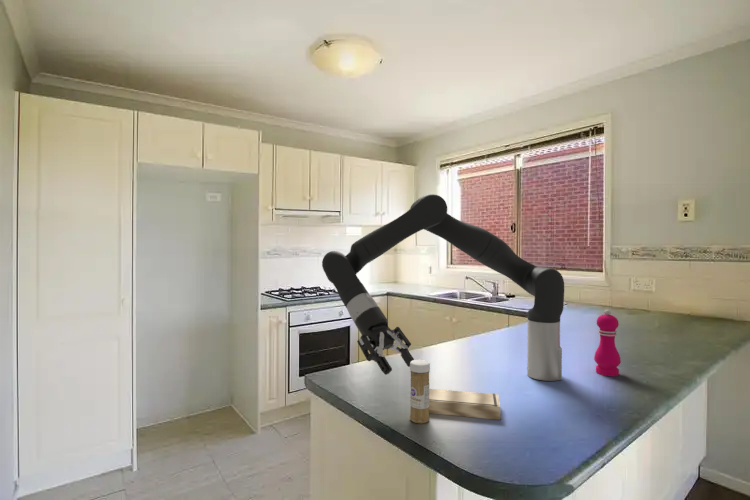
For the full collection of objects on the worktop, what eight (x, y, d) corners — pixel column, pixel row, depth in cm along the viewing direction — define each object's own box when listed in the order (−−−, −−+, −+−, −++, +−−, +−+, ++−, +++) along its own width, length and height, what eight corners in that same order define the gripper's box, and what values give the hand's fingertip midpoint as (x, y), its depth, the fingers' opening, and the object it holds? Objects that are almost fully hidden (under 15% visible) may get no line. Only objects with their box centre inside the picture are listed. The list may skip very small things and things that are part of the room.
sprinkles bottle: (406, 420, 93) (406, 362, 92) (417, 414, 96) (417, 357, 96) (422, 426, 90) (422, 365, 89) (433, 419, 93) (433, 361, 93)
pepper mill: (619, 371, 128) (619, 308, 128) (622, 378, 122) (622, 312, 122) (593, 368, 131) (593, 307, 131) (594, 375, 125) (595, 310, 125)
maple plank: (498, 406, 101) (498, 393, 101) (500, 419, 93) (500, 406, 93) (418, 399, 105) (418, 387, 105) (413, 411, 97) (413, 398, 97)
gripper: (353, 308, 97) (389, 366, 89) (392, 302, 107) (427, 353, 99) (339, 327, 100) (372, 384, 93) (377, 320, 111) (410, 370, 103)
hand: (400, 368), depth 96 cm, fingers open, 8 cm apart
